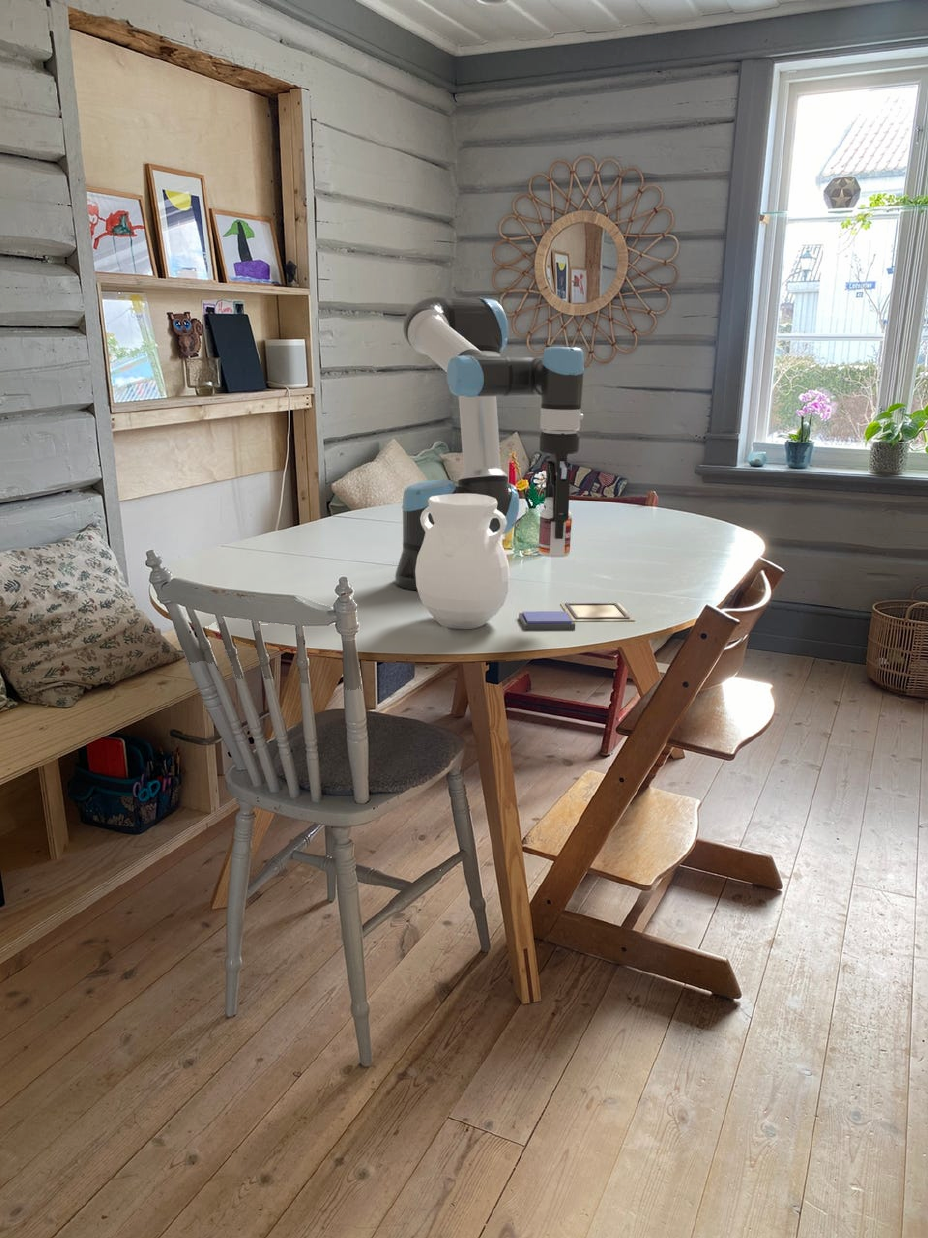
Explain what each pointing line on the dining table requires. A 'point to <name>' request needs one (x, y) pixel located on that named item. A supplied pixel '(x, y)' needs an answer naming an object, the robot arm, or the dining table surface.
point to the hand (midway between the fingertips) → (554, 550)
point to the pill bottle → (546, 530)
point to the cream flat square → (596, 612)
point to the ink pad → (546, 620)
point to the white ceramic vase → (462, 561)
